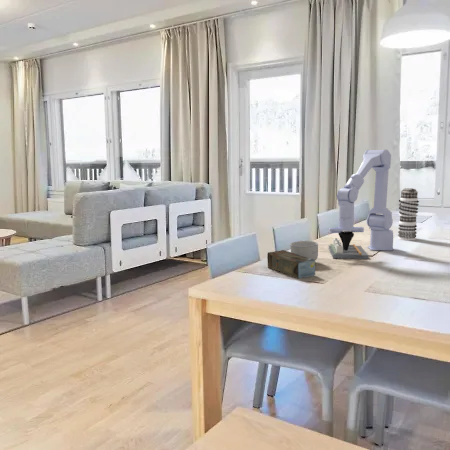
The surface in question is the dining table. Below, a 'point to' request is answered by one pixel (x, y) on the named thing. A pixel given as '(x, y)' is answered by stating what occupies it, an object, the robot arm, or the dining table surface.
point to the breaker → (334, 241)
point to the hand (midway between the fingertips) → (345, 249)
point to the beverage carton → (291, 263)
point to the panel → (349, 252)
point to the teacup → (305, 249)
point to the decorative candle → (408, 214)
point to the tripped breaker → (339, 248)
